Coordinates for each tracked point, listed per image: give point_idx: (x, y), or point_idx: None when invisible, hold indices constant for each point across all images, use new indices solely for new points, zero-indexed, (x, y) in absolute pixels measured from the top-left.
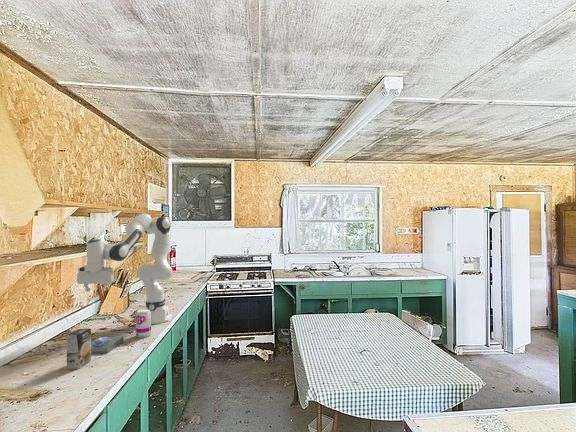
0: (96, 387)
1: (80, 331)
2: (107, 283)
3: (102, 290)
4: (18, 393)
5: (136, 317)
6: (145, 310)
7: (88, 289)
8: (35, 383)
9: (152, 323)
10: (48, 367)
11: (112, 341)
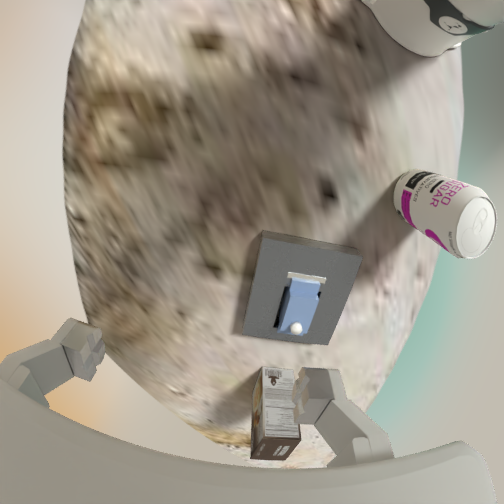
0: None
1: (279, 452)
2: (384, 457)
3: (298, 398)
4: (220, 435)
5: (439, 240)
6: (485, 220)
7: (94, 369)
8: (225, 421)
9: (417, 52)
10: (204, 379)
11: (332, 300)
